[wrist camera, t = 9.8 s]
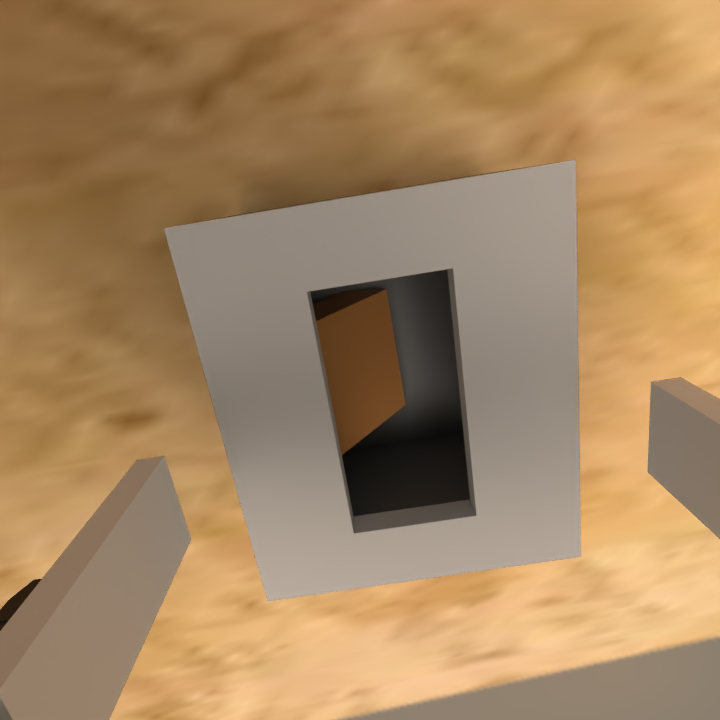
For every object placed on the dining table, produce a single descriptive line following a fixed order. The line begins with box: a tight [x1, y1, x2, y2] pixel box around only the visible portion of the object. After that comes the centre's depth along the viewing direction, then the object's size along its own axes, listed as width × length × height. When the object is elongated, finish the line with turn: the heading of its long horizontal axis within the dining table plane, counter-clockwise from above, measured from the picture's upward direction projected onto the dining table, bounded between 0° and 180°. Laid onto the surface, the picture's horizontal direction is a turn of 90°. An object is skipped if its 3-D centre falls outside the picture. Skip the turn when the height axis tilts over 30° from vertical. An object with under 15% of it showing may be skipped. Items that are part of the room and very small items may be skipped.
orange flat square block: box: [313, 289, 406, 455], centre depth 22 cm, size 6×2×6 cm
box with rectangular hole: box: [164, 160, 581, 601], centre depth 21 cm, size 14×12×10 cm
